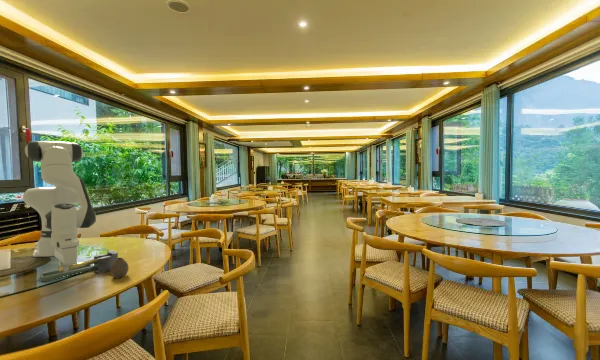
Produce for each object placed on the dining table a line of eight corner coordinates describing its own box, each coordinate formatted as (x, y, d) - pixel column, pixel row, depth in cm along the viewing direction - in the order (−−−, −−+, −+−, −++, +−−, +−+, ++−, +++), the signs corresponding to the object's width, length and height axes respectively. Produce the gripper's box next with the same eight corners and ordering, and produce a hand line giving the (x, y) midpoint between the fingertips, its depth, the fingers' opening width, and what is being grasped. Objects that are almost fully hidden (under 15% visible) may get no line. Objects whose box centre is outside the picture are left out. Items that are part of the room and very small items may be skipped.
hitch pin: (59, 272, 116) (59, 268, 116) (58, 271, 117) (58, 267, 117) (97, 263, 127) (97, 258, 127) (96, 262, 128) (96, 258, 128)
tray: (39, 278, 119) (39, 273, 119) (89, 267, 133) (89, 263, 133) (42, 282, 115) (42, 277, 115) (93, 270, 129) (93, 266, 129)
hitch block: (93, 269, 130) (93, 253, 130) (112, 265, 136) (112, 250, 136) (98, 273, 126) (98, 256, 125) (117, 268, 132) (117, 252, 132)
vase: (131, 275, 125) (131, 256, 125) (117, 280, 118) (117, 261, 118) (121, 272, 127) (121, 255, 127) (106, 278, 120) (106, 259, 120)
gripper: (49, 237, 121) (50, 266, 122) (61, 245, 109) (61, 278, 110) (67, 235, 127) (67, 263, 127) (80, 242, 114) (80, 273, 115)
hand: (64, 270), depth 118 cm, fingers closed on hitch pin, 2 cm apart
